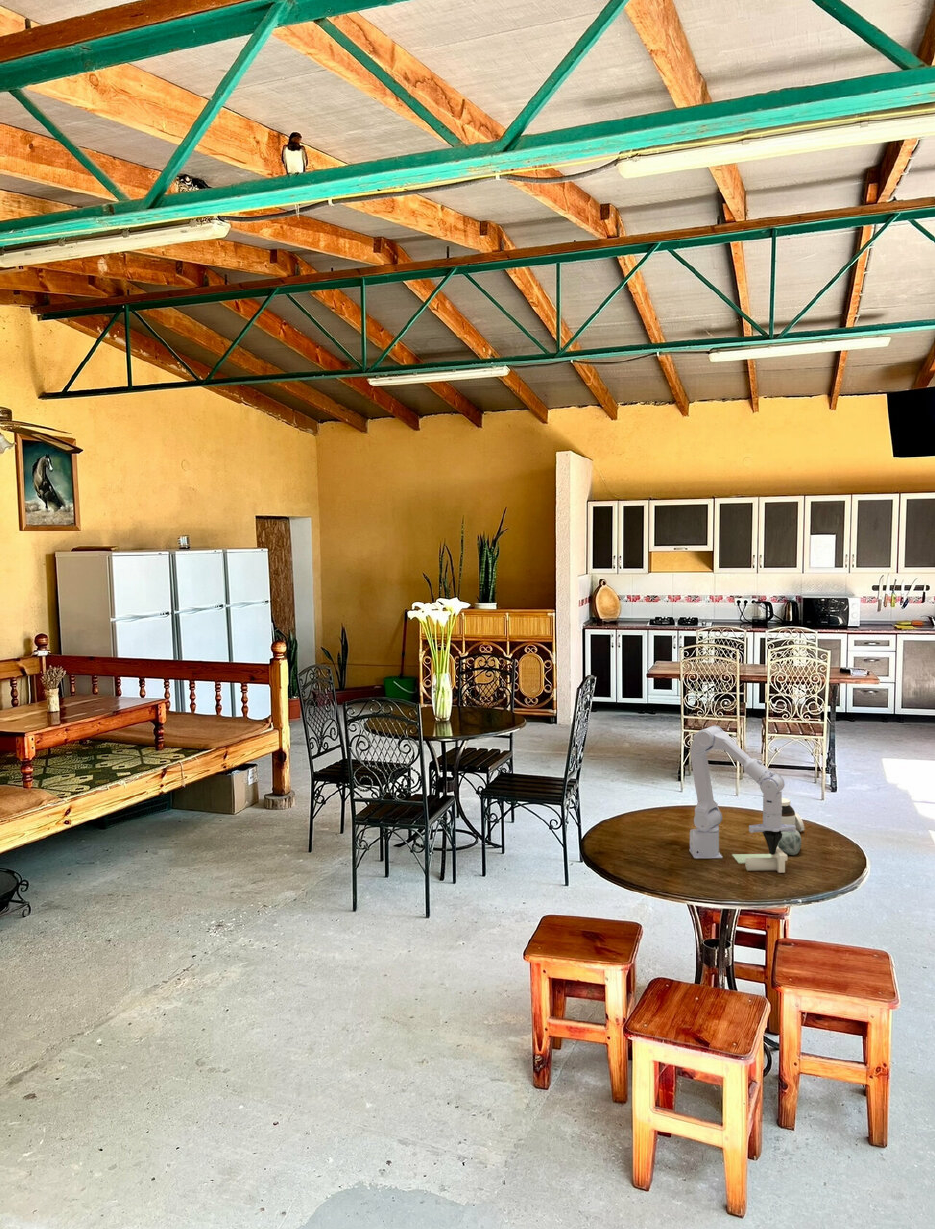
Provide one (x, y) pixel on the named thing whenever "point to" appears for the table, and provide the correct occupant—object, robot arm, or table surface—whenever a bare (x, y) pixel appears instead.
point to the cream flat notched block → (780, 859)
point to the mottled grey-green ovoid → (790, 842)
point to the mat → (741, 857)
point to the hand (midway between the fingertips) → (772, 853)
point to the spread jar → (791, 815)
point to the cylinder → (761, 864)
